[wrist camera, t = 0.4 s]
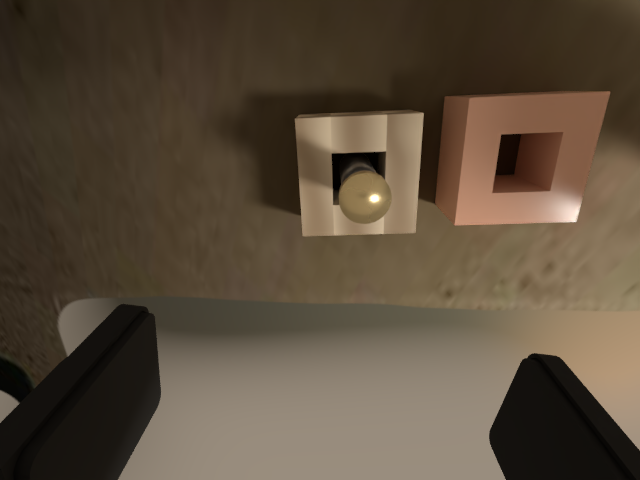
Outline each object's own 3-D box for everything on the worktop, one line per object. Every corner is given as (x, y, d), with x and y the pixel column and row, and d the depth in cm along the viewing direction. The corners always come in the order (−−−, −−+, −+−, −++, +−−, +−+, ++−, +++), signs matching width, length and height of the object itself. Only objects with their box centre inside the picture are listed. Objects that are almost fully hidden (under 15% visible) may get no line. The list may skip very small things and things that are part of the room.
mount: (410, 109, 32) (423, 113, 27) (404, 214, 36) (415, 232, 31) (299, 114, 32) (294, 118, 27) (306, 217, 36) (302, 236, 31)
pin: (373, 147, 33) (392, 172, 23) (373, 184, 34) (390, 223, 24) (335, 148, 33) (338, 174, 23) (336, 185, 35) (339, 224, 25)
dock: (560, 91, 31) (610, 91, 25) (537, 200, 35) (576, 221, 29) (444, 96, 31) (469, 97, 26) (434, 203, 35) (454, 225, 30)
